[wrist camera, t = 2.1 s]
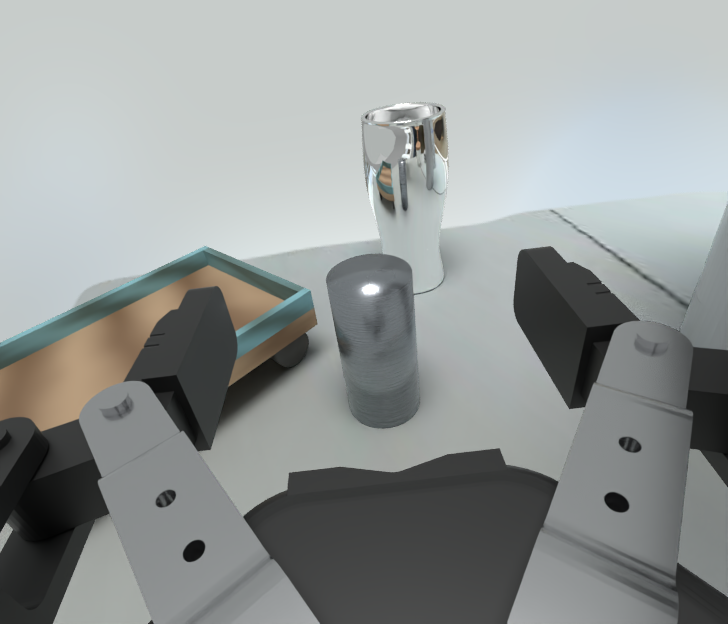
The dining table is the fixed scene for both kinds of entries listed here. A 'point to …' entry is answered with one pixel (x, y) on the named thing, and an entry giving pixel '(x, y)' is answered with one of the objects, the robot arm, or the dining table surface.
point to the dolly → (146, 334)
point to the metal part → (376, 337)
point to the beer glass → (408, 183)
